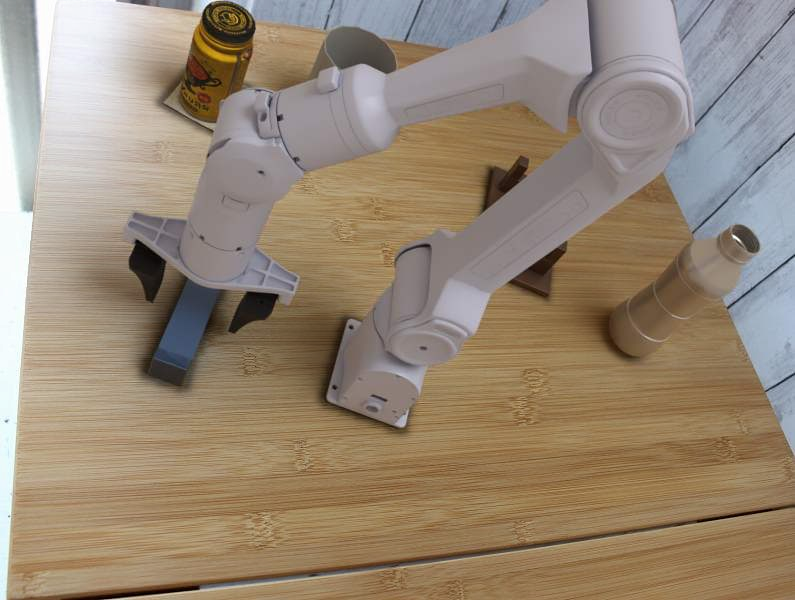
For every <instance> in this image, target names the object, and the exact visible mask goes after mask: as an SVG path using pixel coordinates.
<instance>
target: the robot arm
mask: <svg viewBox="0 0 795 600" xmlns="http://www.w3.org/2000/svg"><path fill="white" fill-rule="evenodd" d="M679 33H680V32H679V25H678V15H677V5H676V0H546V2H544V3H543V4H542V5H541V6H540V7H538V8H537V9H536V10H534V11H533V12H532V13H530V14H529V15H527V16H526V17H523V18H522V19H521V20H518V21H516V22H513V23H511V24H508V25H506V26H503V27H501V28H498V29H496V30H494V31H491V32H488V33H486V34H483V35H481V36H478V37H476V38H474V39H471V40H469V41H466V42H464V43H460V44H458V45H456V46H454V47H451V48H449V49H447V50H444V51H441V52H439V53H437V54H434V55H432V56H429V57H426V58H424V59H422V60H419V61H417V62H414V63H412V64H408V65H406V66H405V67H402V68H400V69H399V68H398V69H397V71H394V72H392V73H389V74H385V73H383V72H381V71H379V70H377V69H375V68H373V67H371V66H369V65H366V64H358V65H355V66H352V67H349V68H346V69H343V70H340V71H339V70H338V69H337V67H335V66H334V67H331V68H328V69H325V70H322V71H320V72H319V75H318V78H316V79H313V80H310V81H308V80H306V81H304V82H300V83H298V84H294V85H292V86H289V87H286V88H283V89H279V90H277V91H274V90H271V89H268V88H264V87H259V86H258V87H256V86H255V87H254V86H253V87H249V88H247V89H243V90H241V91H238V92H236V93H233V94H232V95H230V96H229V97H227V98H226V99H225V100H221V101H220V105H219V116H218V119H217V122H216V126H215V129H214V130H213V132H212V136H211V140H210V143H209V147H208V149H207V153H206V155H205V164H204V167H203V168H202V169H201V172H200V175H199V178H198V182H197V184H196V188H195V192H194V195H193V199H192V200H191V201H192V202H191V205H190V209H189V211H188V215H187V218H177V217H168V216H160V215H154V214H153V215H152V214H148V213H144V212H140V211H137V210H136V209H132V211H131V213H130V215H129V217H128V218H127V220H126V222H125V224H124V226H123V231H122V234H121V242H124V243H127V244H129V245H134V246H133V249H132V250H131V253H130V255H129V257H128V269H129V270H130V271H132V273H134V274H135V276H136V277H137V278H138V279H139V281H140V283H141V285H142V289H143V293H144V297H145V299H144V300H145V301H146V302H148V303H151V304H154V301H155V300H156V297H157V295H158V293H159V291H160V289H161V286H162V283H163V281H164V277H165V272H166V266H167V263H168V264H170V265H171V266H172V267H173V268H174V269H176V270H177V271H179V273H181V274H182V275H183V276H185V277H187V279H188V278H189V279H190V280H192V281H193V282H195V283H197V284H199V285H201V286H204V287H208V288H214V289H221V290H226V291H227V290H228V291H238V292H239V291H240V292H245V293H244V295H243V297H242V298H241V300H240V302H239V303H238V305H237V306H236V309H235V312H234V314H233V316H232V319H231V321H230V324H229V327H228V330H227V333H230V334H232V335H234V334H236V333H237V332H238V331H240V330H241V329H242V328H243V327H245V326H247V325H248V324H251V323H253V322H258V321H266V320H267V319H268V318H269V317H270V316H271V315H272V313H273V311H274V308H275V305H276V304H277V303H276V302H279V303H281V304H283V305H285V306H290V303H291V302H292V300H293V298H294V297H295V295H296V291H297V288H298V287H299V283H300V279H301V275H299V274H297V273H295V272H292V271H291V270H288V269H287V268H285V267H283V266H282V265H281V264H279V263H278V262H277V261H275V260H274V259H273V258H272V257H270V256H269V255H268V254H266V253H265V252H264V251H263V250H262V249H260V247H258V246H257V245H258V243H259V240H260V238H261V236H262V234H263V232H264V229H265V226H266V224H267V221H268V220H269V217H270V215H271V213H272V210H273V208H274V206H275V203H277V202H279V201H280V200H282V199H283V198H285V197H286V196H287V195H288V193H289V192H290V190H291V188H292V186H293V185H294V184H296V183H298V182H301V181H302V179H303V178H304V176H305V174H307V173H311V172H314V171H315V172H316V171H317V170H322V169H325V168H329V167H332V166H335V165H338V164H342V163H345V162H350V161H354V160H356V159H360V158H364V157H368V156H370V155H371V156H372V155H374V154H379V153H381V152H385V151H387V150H389V149H390V147H392V145H393V143H394V141H395V140H396V137H397V136H398V134H399V132H400V130H401V129H402V128H403V127H408V126H412V125H417V124H421V123H427V122H432V121H435V120H440V119H441V120H442V119H445V118H450V117H455V116H460V115H463V114H468V113H473V112H479V111H483V110H488V109H493V108H497V107H502V106H507V105H511V104H512V105H513V104H522V105H523V106H525V107H526V108H527V109H529V110H530V111H531V112H532V113H534V114H535V115H536V116H537V117H539V118H540V119H541V120H543V121H544V122H546V123H547V124H548V125H550V126H551V127H552V128H553V129H555V130H556V131H558V132H559V133H563V134H568V132H569V117H575V118H576V120H577V124H578V126H579V129H580V132H579V133H578V134H577V135H575V136H574V137H573V138H571V139H570V140H569V141H568V142H567V143H565V145H563V146H561V148H559V149H558V150H557V151H556V152H555V153H553V154H552V155H551V156H550V157H548V159H546V160H545V161H544V162H543V163H541V164H540V165H539V166H538V167H536V168H535V169H534V170H532V172H530V173H529V174H527V175H528V176H527V177H526V178H524V179H523V180H522V181H521V182H520V183H518V184H517V185H516V186H515V187H514V188H512V189H511V190H510V191H509V192H507V193H506V194H505V195H504V196H503V197H501V198H500V199H499V200H498V201H496V202H495V203H494V204H493V205H492V206H490V207H489V208H488V209H487V210H486V209H484V211H483V212H482V213H481V214H479V215H478V216H477V217H475V218H474V219H473V220H472V221H471V222H469V223H468V224H467V225H466V226H464V227H463V228H462V229H461V230H459V232H454V231H451V230H448V229H444V228H437V229H436V230H434V231H433V232H432V233H430V234H429V235H428V236H426V237H423V238H421V239H417V240H414V241H411V242H408V243H406V244H404V245H402V246H401V247H400V248H399V249H398V250H397V251H396V253H395V256H394V261H393V265H394V266H393V267H394V269H395V270H394V279H393V280H392V281H391V284H390V286H388V287H387V288H386V289H385V290H384V291H383V292H382V293H381V294H380V295H379V297H378V299H377V300H376V301H375V303H374V304H373V305H372V307H371V309H370V310H369V312H368V313H367V314H366V316H365V317H364V318H363V320H362V321H359V320H357V319H354V318H349V319H347V321H346V323H345V327H344V330H343V334H342V338H341V341H340V345H339V348H338V352H337V356H336V360H335V363H334V367H333V370H332V373H331V378H330V381H329V385H328V389H327V392H326V396H325V399H326V401H327V402H328V403H330V404H333V405H336V406H339V407H342V408H343V409H347V410H350V411H352V412H355V413H358V414H361V415H363V416H366V417H368V418H371V419H374V420H376V421H379V422H382V423H384V424H387V425H390V426H393V427H396V428H397V429H403V428H405V426H406V425H407V421H408V417H409V416H408V415H409V412H410V408H411V407H412V406H413V405H414V404H415V403H416V402H417V401H418V400H419V399H420V395H421V393H422V388H423V383H424V380H425V376H426V373H427V370H428V368H429V367H434V366H439V365H442V364H445V363H448V362H450V361H451V360H453V359H455V358H456V357H458V355H459V354H460V352H461V351H462V348H463V345H464V343H465V342H466V341H468V340H469V339H470V338H472V336H475V335H476V332H477V330H478V328H479V326H480V324H481V321H482V319H483V316H484V313H485V311H486V309H487V305H488V303H489V301H490V298H491V296H492V294H493V293H495V292H496V291H497V290H499V289H500V288H502V287H503V286H504V285H506V284H507V283H508V282H509V281H510V280H511V279H513V278H514V277H516V276H517V275H518V274H520V273H521V272H523V271H524V270H526V269H527V268H528V267H530V266H531V265H533V264H534V263H535V262H537V261H538V260H540V259H541V258H543V257H544V256H545V255H547V254H548V253H550V252H551V251H553V250H554V249H555V248H557V247H558V246H560V245H561V244H562V243H564V242H565V241H567V242H568V240H570V239H571V238H573V237H574V236H576V235H577V234H578V233H580V232H581V231H582V230H584V229H585V228H586V227H588V226H590V225H591V224H593V223H594V222H595V221H597V220H598V219H599V218H601V217H602V216H604V215H605V214H606V213H608V212H609V211H611V210H612V209H614V208H615V207H617V206H618V205H619V204H621V203H622V202H624V201H625V200H626V199H628V198H630V197H631V196H632V195H634V194H635V193H637V192H638V191H639V190H640V189H642V188H644V187H645V186H647V185H648V184H650V182H652V181H653V180H655V179H657V177H658V176H659V175H661V174H662V173H663V172H664V170H665V169H666V168H667V165H668V163H669V162H670V159H671V157H672V156H673V153H674V151H675V150H676V147H677V146H678V145H679V144H680V143H682V142H683V141H685V140H686V139H687V138H688V137H690V136H692V134H694V133H695V131H696V130H695V129H696V127H695V126H696V124H695V114H694V113H695V112H694V101H693V94H692V90H691V87H690V84H689V81H688V79H687V75H686V70H685V69H686V68H685V63H684V58H683V51H682V47H681V41H680V34H679Z"/></svg>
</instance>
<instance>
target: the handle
mask: <svg viewBox="0 0 795 600" xmlns="http://www.w3.org/2000/svg"><path fill="white" fill-rule="evenodd" d="M221 290H222V289H214V288H208V287H204V286H201V285H199V284H197V283H195V282H193V281H192V280H190V279H189V278H188V277H187V279H186V282H185V285H184V287H183V289H182V291H181V293H180V296H179V298H178V300H177V303H176V305H175V307H174V309H173V311H172V314H171V316H170V319H169V320H168V323H167V326H166V328H165V330H164V333H163V335H162V337H161V340H160V341H159V344H158V346H157V347H156V349H155V351H154V354H153V356H152V359H151V361H150V365H149V369H148V372H147V375H148V376H151V377H153V378H156V379H159V380H162V381H164V382H167V383H170V384H172V385H176V386H178V387H183V386H184V384H185V381H186V378H187V375H188V373H189V370H190V368H191V365H192V363H193V359H194V356H195V355H196V352H197V349H198V347H199V344H200V341H201V339H202V337H203V334H204V332H205V330H206V327H207V324H208V322H209V319H210V316H211V314H212V312H213V309H214V307H215V304H216V302H217V299H218V297H219V295H220V292H221Z"/></svg>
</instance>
